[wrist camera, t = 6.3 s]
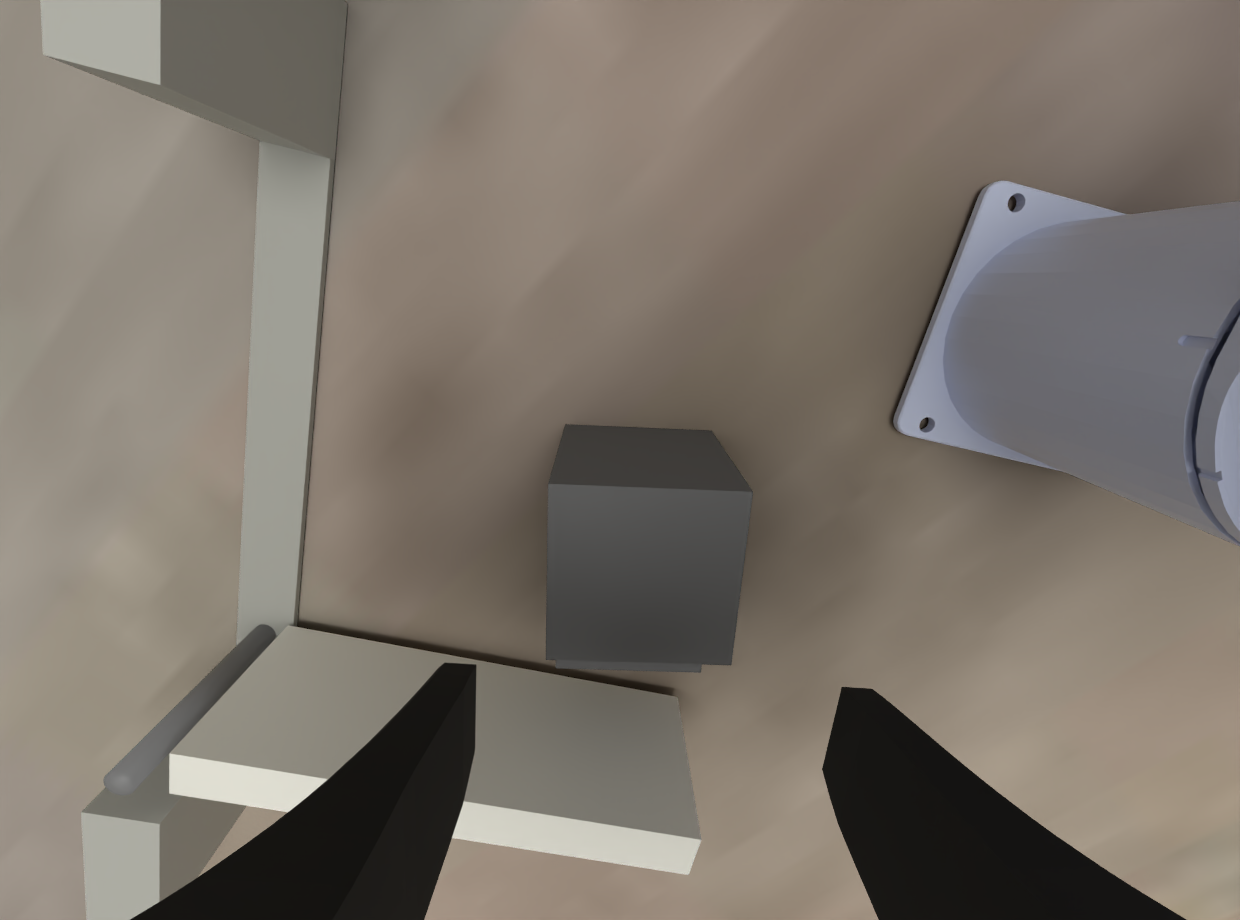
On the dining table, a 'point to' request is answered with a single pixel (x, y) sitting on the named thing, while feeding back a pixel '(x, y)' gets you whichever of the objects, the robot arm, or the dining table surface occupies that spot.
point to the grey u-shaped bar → (278, 367)
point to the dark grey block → (644, 549)
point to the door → (503, 760)
